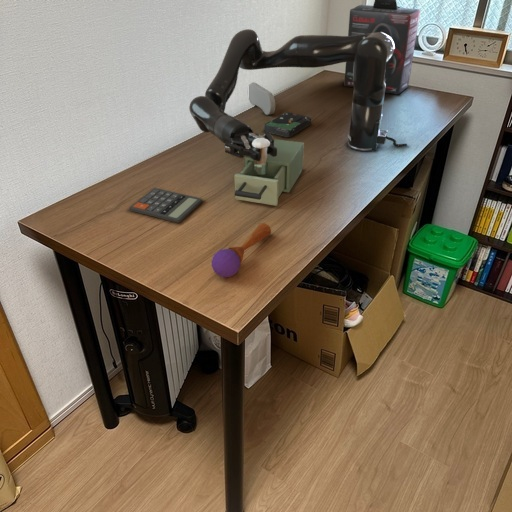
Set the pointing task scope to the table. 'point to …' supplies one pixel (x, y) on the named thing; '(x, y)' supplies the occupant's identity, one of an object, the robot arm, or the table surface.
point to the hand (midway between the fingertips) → (267, 155)
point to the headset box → (398, 29)
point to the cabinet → (287, 160)
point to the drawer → (261, 184)
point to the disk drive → (287, 124)
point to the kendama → (237, 253)
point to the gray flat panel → (261, 98)
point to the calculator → (166, 205)
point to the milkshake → (262, 147)
